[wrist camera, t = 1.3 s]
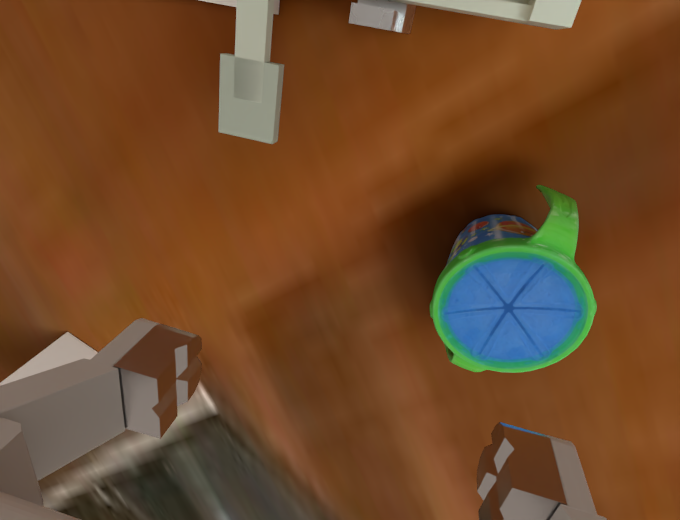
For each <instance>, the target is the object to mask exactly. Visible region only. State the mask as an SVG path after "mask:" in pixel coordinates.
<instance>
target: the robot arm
mask: <svg viewBox="0 0 680 520" xmlns="http://www.w3.org/2000/svg"><path fill="white" fill-rule="evenodd" d="M201 349H202V341H201V337H199V336H198V335H195V334H192V333H189V332H186V331H183V330H180V329H176V328H173V327H170V326H167V325H164V324H159V323H156V322H153V321H150V320H147V319H143V318H141V319H138V320H135V321H134V322H133V323H132V324H130V325H129V326H128V327H127V328H126V329H125V330H124V331H122V332H121V333H120V334H119V335H118V336H117V337H116V338H115V339H113V340H112V341H111V342H110V343H109V344H108V345H107V346H105V347H104V348H103V349H102V350H101V351H100V352H99V353H97V354H96V355H95V356H94V357H93V358H92V359H91V360H89V359H85V358H83V359H80V360H77V361H74V362H71V363H68V364H65V365H62V366H59V367H56V368H53V369H50V370H47V371H44V372H41V373H38V374H34V375H31V376H28V377H25V378H22V379H19V380H16V381H13V382H10V383H7V384H4V385H1V386H0V520H80V519H77V518H74V517H71V516H69V515H66V514H63V513H60V512H57V511H55V510H52V509H49V508H46V507H43V498H42V494H41V491H40V487H39V484H38V480H40V479H42V478H44V477H45V476H47V475H49V474H51V473H52V472H54V471H56V470H58V469H59V468H61V467H63V466H65V465H66V464H68V463H70V462H71V461H73V460H75V459H77V458H78V457H80V456H82V455H84V454H85V453H87V452H89V451H91V450H92V449H94V448H96V447H98V446H99V445H101V444H103V443H105V442H106V441H108V440H110V439H112V438H113V437H115V436H117V435H119V434H120V433H122V432H124V431H125V429H129V430H132V431H136V432H139V433H143V434H146V435H150V436H153V437H156V438H160V439H161V437H162V436H163V435H164V433H165V432H166V431H167V429H168V428H169V426H170V425H171V424H172V422H173V421H174V420H175V418H176V417H177V406H179V405H181V404H183V403H185V402H188V400H189V399H190V398H191V396H192V395H193V393H194V392H195V389H196V387H197V385H198V383H199V380H200V376H201V370H202V363H201V361H200V360H199V358H198V357H197V354H198V353H199V352H200V351H201ZM491 435H492V444H490V445H488V446H486V447H484V450H483V452H482V454H481V457H480V460H479V465H478V469H477V491H478V493H479V494H480V496H481V497H482V499H483V500H484V501H483V503H482V505H481V507H480V509H479V520H607V519H606V518H605V517H602V516H599V515H597V512H596V509H595V506H594V503H593V500H592V497H591V494H590V491H589V488H588V485H587V482H586V479H585V475H584V472H583V469H582V466H581V463H580V460H579V457H578V454H577V451H576V448H575V446H574V445H573V443H572V442H570V441H566V440H563V439H559V438H555V437H552V436H548V435H544V434H540V433H537V432H533V431H530V430H526V429H522V428H519V427H515V426H512V425H508V424H505V423H501V422H499V423H498V424H497V425H496V426H495V427H494V429H493V431H492V433H491Z"/></svg>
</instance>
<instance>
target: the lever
mask: <svg viewBox="0 0 680 520" xmlns="http://www.w3.org/2000/svg"><path fill="white" fill-rule="evenodd" d="M389 1H395V2H401V3H406V4H412V5H418V6H424V7H429V8H435V9H441V10H447V11H452V12H458V13H464V14H470V15H475V16H481V17H487V18H493V19H498V20H504V21H510V22H516V23H522V24H527V25H533V26H539V27H545V28H550V29H564V28H571V27H572V24H573V22H574V19H575V16H576V14H577V11H578V8H579V6H580V3H581V0H389ZM273 12H274V0H237V7H236V35H235V55H233V54H228V53H224V54H220V88H219V132H221V133H225V134H230V135H234V136H238V137H243V138H247V139H252V140H256V141H261V142H265V143H270V144H274V143H275V142H277V141H278V132H279V120H280V109H281V98H282V86H283V75H284V64H279V63H274V62H270V54H271V40H272V26H273Z"/></svg>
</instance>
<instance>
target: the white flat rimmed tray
mask: <svg viewBox="0 0 680 520" xmlns="http://www.w3.org/2000/svg"><path fill="white" fill-rule="evenodd" d="M200 1H205V2H211V3H216V4H222V5H227V6H232V7H237V0H200ZM279 4H280V0H274V12H273V14H278V15H279Z"/></svg>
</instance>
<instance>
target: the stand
mask: <svg viewBox="0 0 680 520" xmlns="http://www.w3.org/2000/svg"><path fill="white" fill-rule="evenodd" d="M415 9H416V5H412V4H406V3H401V2H395V1H389V0H358V3H353V2H352V3H351V10H350V16H349V23H352V24H357V25H362V26H368V27H373V28H379V29H384V30H390V31H396V32H401V33H407V34H410V32H411V28H412V23H413V18H414V14H415Z"/></svg>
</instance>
